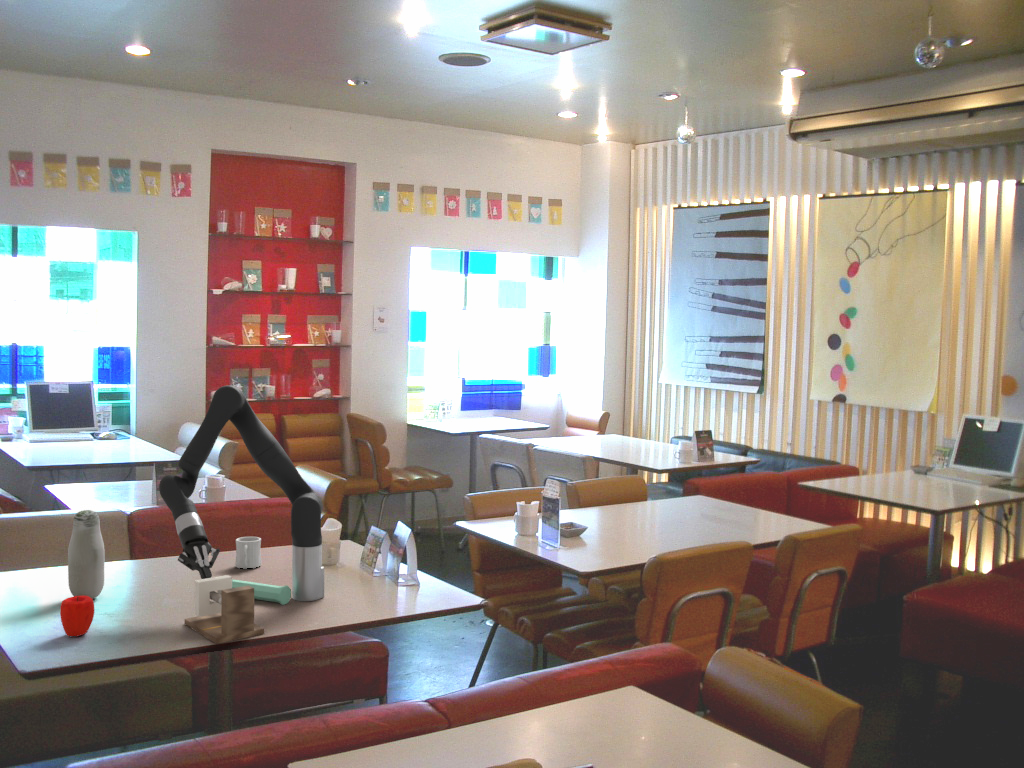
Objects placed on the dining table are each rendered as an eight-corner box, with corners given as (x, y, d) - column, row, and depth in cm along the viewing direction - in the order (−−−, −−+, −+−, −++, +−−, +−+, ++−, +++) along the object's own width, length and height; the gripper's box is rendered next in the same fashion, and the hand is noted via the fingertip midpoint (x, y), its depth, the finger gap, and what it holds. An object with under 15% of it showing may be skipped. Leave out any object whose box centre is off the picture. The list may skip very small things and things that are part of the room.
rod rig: (230, 615, 288) (230, 570, 287) (264, 633, 271) (264, 586, 270) (184, 624, 278) (184, 577, 278) (216, 643, 262) (216, 594, 261)
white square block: (227, 608, 284) (227, 575, 284) (232, 610, 282) (232, 577, 281) (194, 614, 278) (194, 580, 277) (198, 617, 275) (198, 582, 275)
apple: (88, 640, 263) (87, 601, 262) (55, 640, 262) (54, 601, 262) (99, 630, 272) (99, 592, 271) (67, 630, 271) (66, 592, 270)
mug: (237, 563, 350) (237, 536, 349) (263, 563, 351) (263, 536, 350) (231, 572, 338) (231, 544, 337) (258, 571, 339) (258, 543, 338)
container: (215, 593, 308) (277, 603, 297) (220, 575, 309) (282, 584, 298) (227, 596, 313) (288, 606, 302) (232, 578, 314) (293, 587, 303)
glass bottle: (61, 601, 299) (60, 511, 297) (87, 593, 309) (86, 506, 307) (86, 605, 295) (85, 514, 294) (111, 596, 305) (110, 509, 303)
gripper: (172, 526, 285) (189, 576, 276) (215, 521, 293) (233, 569, 285) (166, 541, 289) (182, 590, 280) (208, 535, 298) (225, 583, 289)
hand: (207, 579), depth 282 cm, fingers closed
